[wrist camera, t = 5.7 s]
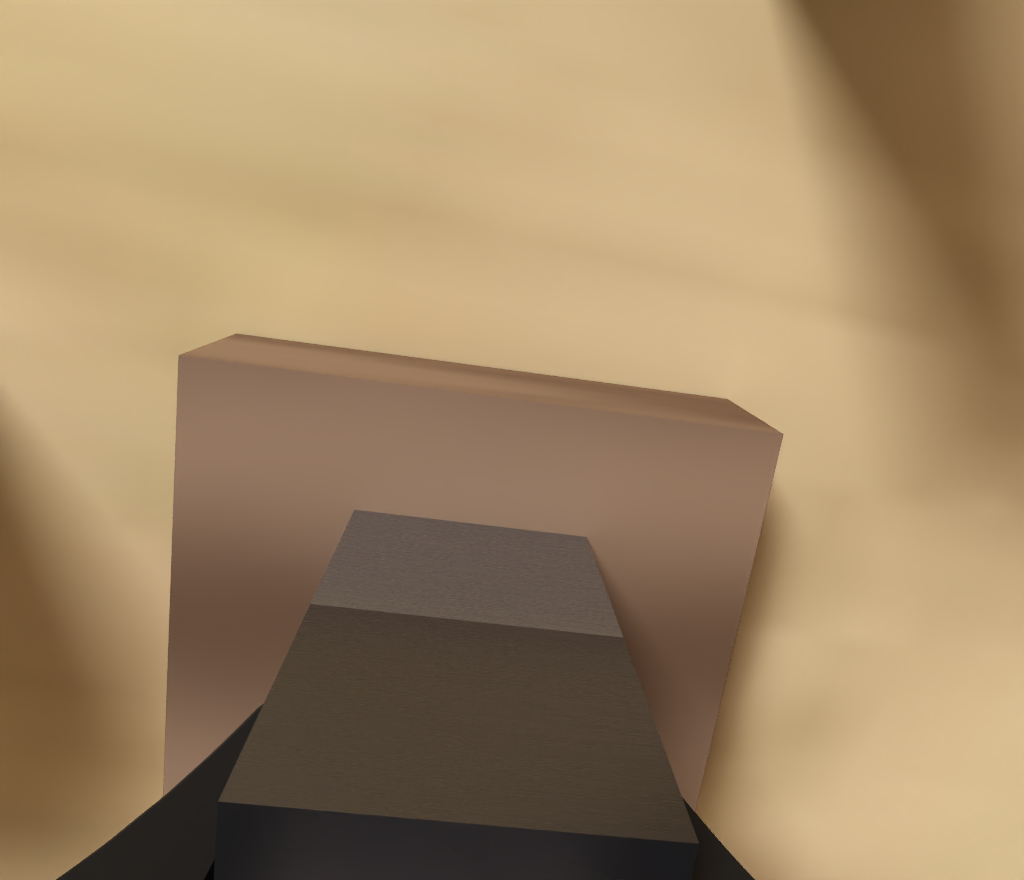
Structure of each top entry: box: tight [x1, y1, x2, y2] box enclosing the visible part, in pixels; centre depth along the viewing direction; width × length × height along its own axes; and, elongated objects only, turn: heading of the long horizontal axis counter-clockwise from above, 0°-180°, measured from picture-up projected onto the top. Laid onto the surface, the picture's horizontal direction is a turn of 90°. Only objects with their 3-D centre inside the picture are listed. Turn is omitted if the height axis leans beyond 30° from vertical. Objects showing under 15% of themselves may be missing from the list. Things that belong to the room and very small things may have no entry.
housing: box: [214, 510, 699, 880], centre depth 10 cm, size 6×4×8 cm, turn 172°
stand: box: [163, 334, 783, 812], centre depth 15 cm, size 10×10×3 cm
